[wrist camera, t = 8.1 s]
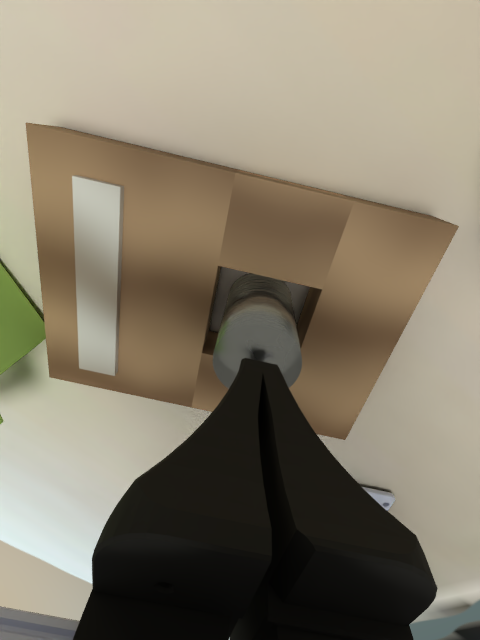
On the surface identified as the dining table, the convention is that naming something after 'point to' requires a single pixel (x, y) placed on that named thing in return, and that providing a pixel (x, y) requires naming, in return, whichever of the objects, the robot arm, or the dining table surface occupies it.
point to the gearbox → (16, 324)
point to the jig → (214, 271)
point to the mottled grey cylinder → (258, 329)
